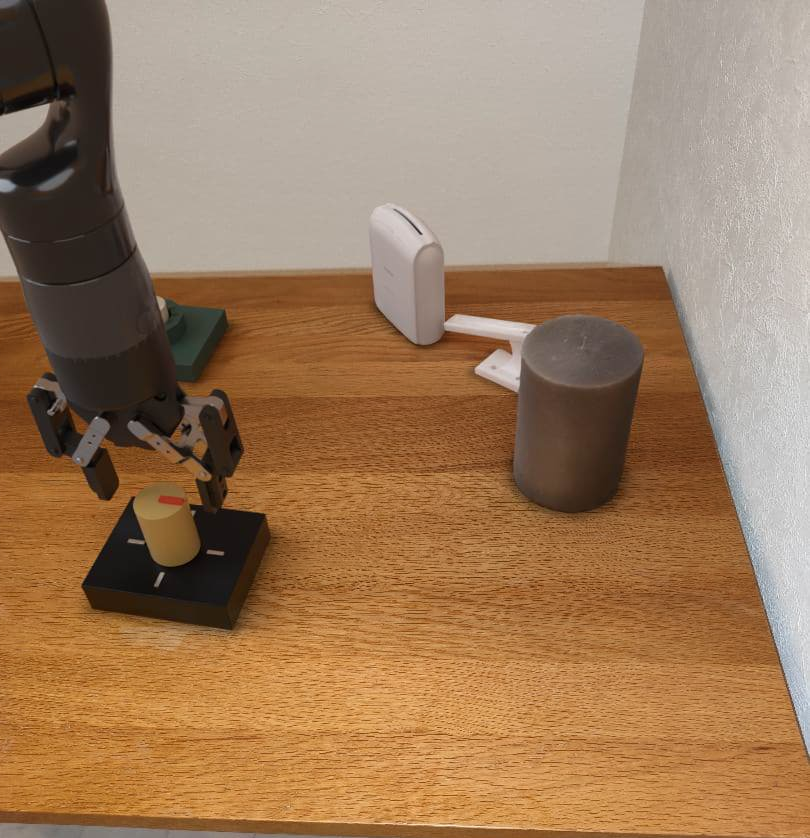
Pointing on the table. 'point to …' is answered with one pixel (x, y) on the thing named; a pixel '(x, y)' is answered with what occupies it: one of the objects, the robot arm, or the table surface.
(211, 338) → the block
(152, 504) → the lock knob
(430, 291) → the photo printer
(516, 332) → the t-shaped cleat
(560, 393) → the pillar candle
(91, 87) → the robot arm
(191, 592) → the plate
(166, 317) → the bell button
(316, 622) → the table surface
